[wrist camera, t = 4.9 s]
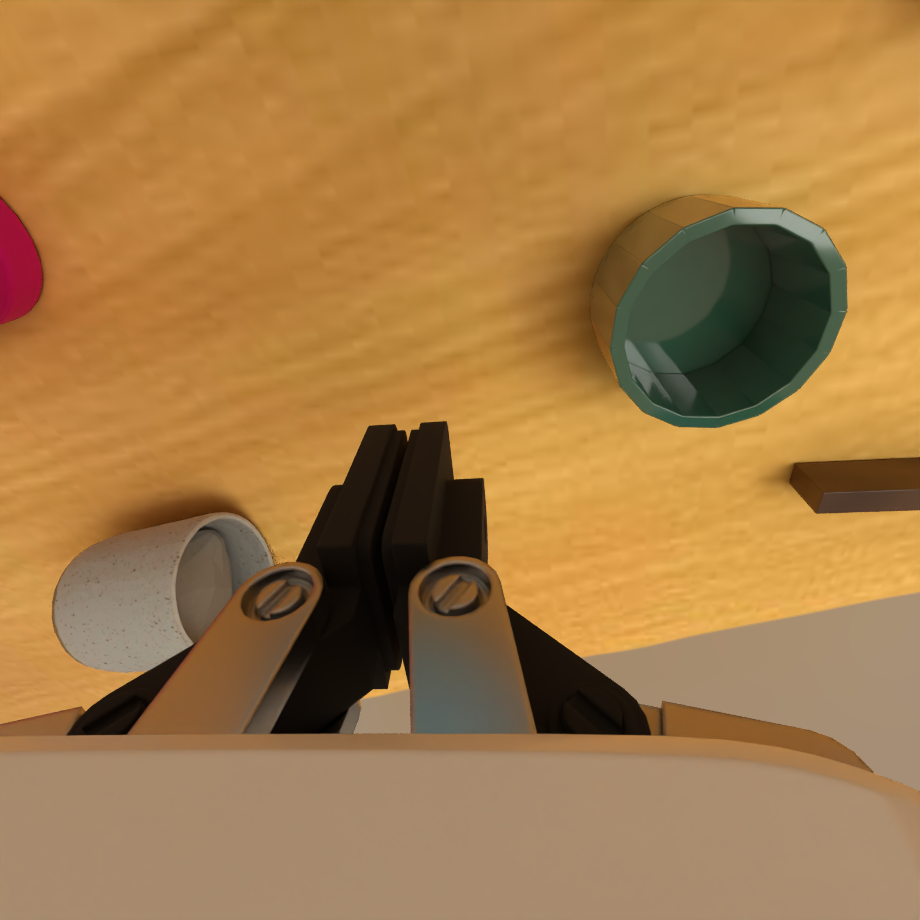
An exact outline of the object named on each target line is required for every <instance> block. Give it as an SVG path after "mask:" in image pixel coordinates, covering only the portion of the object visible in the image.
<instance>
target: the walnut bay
mask: <svg viewBox="0 0 920 920" xmlns="http://www.w3.org/2000/svg"><path fill="white" fill-rule="evenodd" d="M789 483H790V485H791V486H792V487H793V488H794V489H795V490H796V491H797V492H798V494H799V495H800V496H801V497H802V498H803V499H804V500H805V502H806V503H807V504H808V505H809V506H810V507H811V508H812V510H813V511H814V512H815V513H816V514H820V513H850V512H879V511H908V510H920V458H907V459H884V460H861V461H838V462H814V463H796V464H795V466H794V469H793V472H792V476H791V479H790V482H789Z"/></svg>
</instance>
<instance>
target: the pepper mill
mask: <svg viewBox="0 0 920 920" xmlns="http://www.w3.org/2000/svg"><path fill="white" fill-rule="evenodd" d="M42 280H43V279H42V272H41V264H40V260H39V257H38V254H37V252H36V249H35V246H34V243H33V241H32V239H31V237H30V236H29V234H28V232H27V231H26V229H25V228H24V226H23V225H22V223H21V222H20V220H19V218H18V217H17V215H16V214H15V213H14V212H13V211H12V210H11V209H10V208H9V207H8V206H7V205H6V204H5V203H4V202H3V201H2V200H1V199H0V325H1V324H4V323H6V322H9V321H12V320H15V319H17V318H19V317H21V316H24V315H25V314H27V313H28V312H29V311H30V310H31V309H32V308H33V306H34V305H35V303H36V302H37V300H38V298H39V296H40V291H41V286H42Z"/></svg>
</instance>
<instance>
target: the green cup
mask: <svg viewBox="0 0 920 920" xmlns="http://www.w3.org/2000/svg"><path fill="white" fill-rule="evenodd" d="M846 313H847V267H846V264H845V262H844V260H843V259H842V257H841V255H840V254H839V252H838V250H837V249H836V247H835V245H834V243H833V242H832V240H831V238H830V237H829V235H828V233H827V232H826V230H825V229H824V228H823V227H821V226H819V225H817V224H815V223H813V222H812V221H810V220H808V219H806V218H804V217H802V216H800V215H798V214H796V213H794V212H792V211H791V210H789V209H787V208H783V207H779V206H774V205H770V204H765V203H760V202H755V201H751V200H746V199H741V198H737V197H732V196H716V195H692V196H687V197H682V198H678V199H675V200H672V201H669V202H666V203H663V204H661V205H659V206H657V207H655V208H653V209H651V210H650V211H648V212H647V213H645V214H643V215H642V216H640V217H639V218H638V219H637V220H635V221H634V222H633V223H632V224H630V225H629V226H628V227H627V228H626V229H625V230H624V231H623V232H622V233H621V234H620V235H619V236H618V238H617V239H616V240H615V241H614V243H613V244H612V245H611V247H610V248H609V250H608V251H607V253H606V254H605V256H604V258H603V260H602V262H601V264H600V266H599V268H598V270H597V273H596V276H595V279H594V282H593V287H592V292H591V300H590V314H591V322H592V327H593V330H594V333H595V336H596V339H597V341H598V345H599V348H600V350H601V352H602V354H603V355H604V357H605V359H606V361H607V363H608V365H609V367H610V369H611V371H612V372H613V374H614V376H615V378H616V380H617V382H618V384H619V386H620V387H621V388H622V390H623V391H624V392H625V393H626V394H627V395H628V396H629V397H630V399H631V400H632V401H633V402H634V403H635V404H636V405H637V406H638V407H639V409H640V410H641V411H642V412H644V413H645V414H648V415H650V416H652V417H655V418H657V419H660V420H662V421H664V422H667V423H669V424H671V425H674V426H678V427H697V428H717V427H722V426H726V425H729V424H732V423H736V422H739V421H742V420H746V419H749V418H752V417H756V416H758V415H761V414H762V413H764V412H766V411H767V410H769V409H770V408H772V407H773V406H775V405H776V404H778V403H779V402H781V401H782V400H784V399H786V398H787V397H789V396H790V395H792V394H793V393H795V392H796V391H798V389H800V388H801V387H802V386H803V384H804V383H805V382H806V381H807V380H808V379H809V377H810V376H811V375H812V374H813V373H814V372H815V370H816V369H817V368H818V367H819V366H820V364H821V363H822V362H823V361H824V360H825V359H826V357H827V356H828V355H829V353H830V352H831V350H832V347H833V345H834V342H835V340H836V337H837V335H838V332H839V330H840V327H841V325H842V322H843V320H844V318H845V315H846Z"/></svg>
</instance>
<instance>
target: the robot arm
mask: <svg viewBox="0 0 920 920" xmlns="http://www.w3.org/2000/svg"><path fill="white" fill-rule="evenodd" d="M402 658H403V662H404V667H405V671H406V676H407V680H408V685H409V689H410V716H411V734H353V732H354V730H355V727H356V724H357V722H358V719H359V715H360V710H361V703H360V699H361V698H362V697H364V696H365V695H366V694H367V693H369V692H370V691H371V690H373V689H388V684H389V679H390V674H391V670H399V669H400V667H401V663H402ZM0 920H920V791H918V790H915V789H913V788H911V787H908V786H906V785H904V784H902V783H899V782H897V781H894V780H891V779H888V778H886V777H883V776H880V775H877V774H874V772H873V771H872V770H871V769H870V768H869V767H868V766H867V765H866V764H865V763H864V762H863V761H862V760H861V759H860V758H859V757H858V756H857V755H856V754H855V753H854V752H853V751H851V750H850V749H848V748H847V747H845V746H843V745H842V744H841V743H839V742H837V741H836V740H834V739H833V738H831V737H828V736H825V735H822V734H819V733H816V732H813V731H810V730H806V729H801V728H796V727H791V726H786V725H781V724H776V723H771V722H766V721H761V720H756V719H751V718H746V717H741V716H736V715H730V714H726V713H721V712H715V711H711V710H705V709H701V708H695V707H690V706H686V705H681V704H676V703H670V702H666V701H662V705H661V708H658V707H653V706H648V705H643V704H638V702H637V700H635V699H634V698H633V697H632V696H631V695H630V694H629V693H628V692H627V691H626V690H625V689H623V688H622V687H621V686H619V685H618V684H617V683H615V682H614V681H612V680H611V679H610V678H608V677H607V676H605V675H604V674H603V673H601V672H600V671H598V670H597V669H596V668H594V667H593V666H591V665H590V664H589V663H587V662H586V661H584V660H583V659H582V658H580V657H579V656H577V655H576V654H575V653H573V652H572V651H570V650H569V649H568V648H566V647H565V646H563V645H562V644H561V643H559V642H558V641H556V640H555V639H554V638H552V637H551V636H549V635H548V634H547V633H545V632H544V631H542V630H541V629H540V628H538V627H537V626H535V625H534V624H533V623H531V622H530V621H528V620H527V619H526V618H524V617H523V616H521V615H520V614H519V613H517V612H516V611H514V610H513V609H512V608H510V607H509V606H507V605H506V602H505V598H504V594H503V590H502V585H501V581H500V579H499V577H498V575H497V573H496V571H495V570H494V569H493V568H491V567H490V566H489V565H488V539H487V515H486V501H485V488H484V480H483V478H476V479H455V480H454V476H453V467H452V459H451V450H450V441H449V432H448V425H447V422H446V421H443V422H426V423H421V424H420V427H419V430H411V433H410V437H409V440H408V441H407V435H406V432H405V430H401V431H397V427H396V425H395V424H391V425H374V426H369V427H368V428H367V431H366V433H365V435H364V438H363V440H362V442H361V444H360V447H359V449H358V451H357V454H356V456H355V458H354V460H353V463H352V465H351V467H350V470H349V472H348V474H347V477H346V479H345V481H344V483H343V485H335V486H332V487H331V489H330V490H329V492H328V494H327V497H326V499H325V501H324V503H323V505H322V507H321V509H320V511H319V514H318V516H317V518H316V520H315V522H314V524H313V526H312V528H311V531H310V533H309V535H308V537H307V539H306V541H305V543H304V546H303V548H302V550H301V552H300V554H299V556H298V558H297V560H296V562H285V563H281V564H277V565H273V566H270V567H268V568H266V569H264V570H261V571H259V572H258V573H256V574H255V575H253V576H252V577H250V578H249V579H247V580H246V581H245V582H244V583H243V584H242V585H241V586H240V587H239V588H238V590H237V591H236V592H235V593H234V595H233V596H232V597H231V599H230V600H229V601H228V603H227V604H226V605H225V607H224V608H223V609H222V610H221V612H220V613H219V614H218V616H217V617H216V618H215V620H214V621H213V622H212V624H211V625H210V626H209V628H208V629H207V630H206V631H205V633H204V634H203V635H202V637H201V638H200V639H199V641H198V642H197V643H195V644H193V645H191V646H190V647H188V648H186V649H185V650H183V651H181V652H179V653H178V654H176V655H174V656H173V657H171V658H169V659H168V660H166V661H164V662H162V663H161V664H159V665H157V666H156V667H154V668H152V669H151V670H149V671H147V672H145V673H144V674H142V675H140V676H139V677H137V678H135V679H134V680H132V681H130V682H128V683H127V684H125V685H123V686H122V687H120V688H118V689H117V690H115V691H113V692H111V693H110V694H108V695H107V696H105V697H104V698H102V699H101V700H100V701H98V702H97V703H95V704H94V705H92V706H91V707H90V708H89V709H88V710H87V711H85V710H84V709H83V708H82V706H81V707H77V708H72V709H68V710H63V711H59V712H54V713H49V714H45V715H40V716H36V717H31V718H27V719H22V720H18V721H13V722H8V723H4V724H0Z"/></svg>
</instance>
